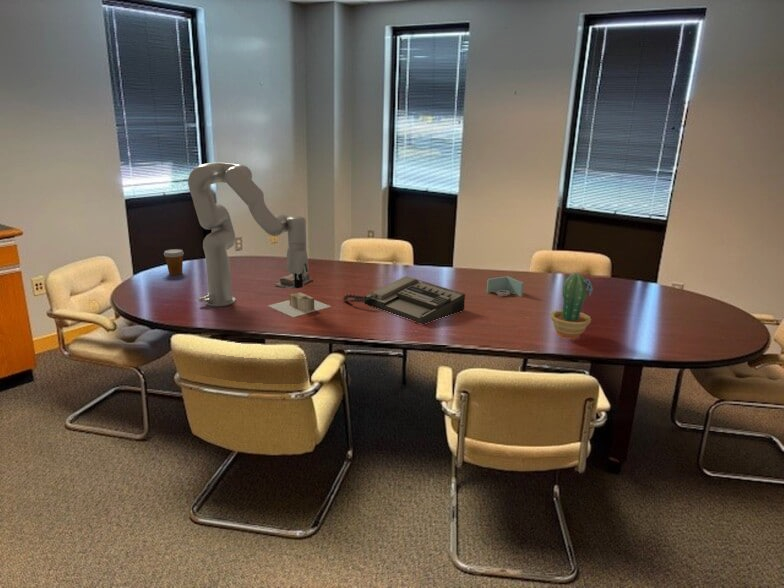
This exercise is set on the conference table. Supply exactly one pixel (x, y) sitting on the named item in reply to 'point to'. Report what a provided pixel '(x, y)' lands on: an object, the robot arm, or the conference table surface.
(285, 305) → the mat
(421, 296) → the fax machine
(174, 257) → the disposable coffee cup
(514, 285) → the l-shaped corner panel
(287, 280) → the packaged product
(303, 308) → the maple block
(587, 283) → the potted cactus
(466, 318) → the conference table surface
